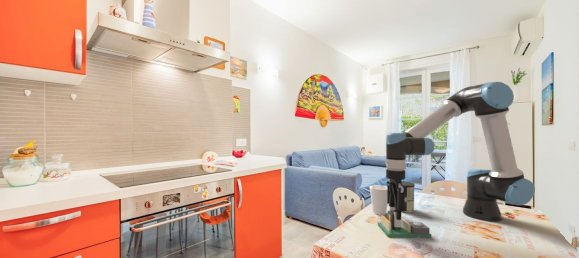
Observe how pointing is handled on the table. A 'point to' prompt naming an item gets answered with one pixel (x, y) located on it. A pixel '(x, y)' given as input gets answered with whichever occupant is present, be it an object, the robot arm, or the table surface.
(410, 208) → the coffee can
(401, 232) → the board
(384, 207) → the foam cup
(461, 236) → the table surface
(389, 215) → the plug
